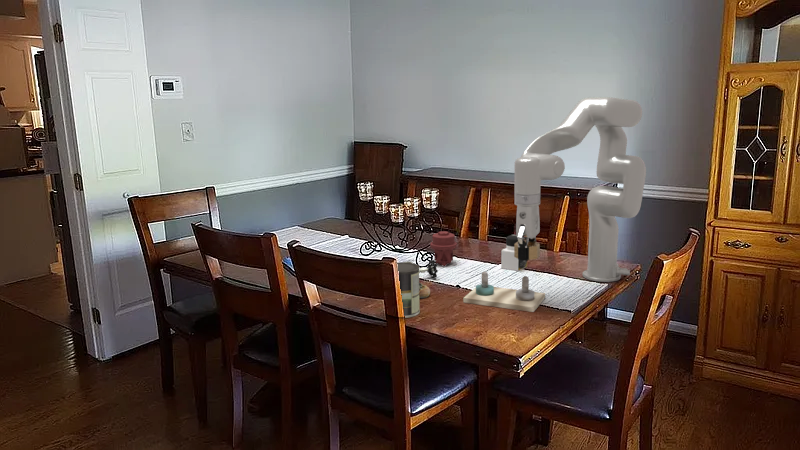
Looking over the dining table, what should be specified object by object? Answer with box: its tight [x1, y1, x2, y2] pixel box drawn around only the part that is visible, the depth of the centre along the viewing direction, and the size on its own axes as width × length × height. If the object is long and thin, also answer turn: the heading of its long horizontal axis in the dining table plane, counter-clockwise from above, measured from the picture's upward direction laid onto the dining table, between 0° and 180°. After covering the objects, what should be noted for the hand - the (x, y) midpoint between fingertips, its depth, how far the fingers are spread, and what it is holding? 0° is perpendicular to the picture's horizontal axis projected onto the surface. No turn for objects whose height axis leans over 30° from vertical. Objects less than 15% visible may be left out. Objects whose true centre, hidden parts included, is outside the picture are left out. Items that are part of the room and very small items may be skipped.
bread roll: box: [419, 282, 431, 299], centre depth 201 cm, size 11×11×5 cm
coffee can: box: [396, 261, 421, 319], centre depth 183 cm, size 10×10×14 cm
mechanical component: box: [429, 230, 458, 267], centre depth 234 cm, size 12×10×10 cm
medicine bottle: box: [500, 234, 528, 272], centre depth 227 cm, size 7×7×12 cm
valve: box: [406, 259, 439, 279], centre depth 216 cm, size 7×7×12 cm
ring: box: [514, 240, 541, 261], centre depth 187 cm, size 7×7×4 cm
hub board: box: [462, 271, 546, 313], centre depth 192 cm, size 22×14×8 cm, turn 63°
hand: (526, 256), depth 187 cm, fingers closed on ring, 7 cm apart
